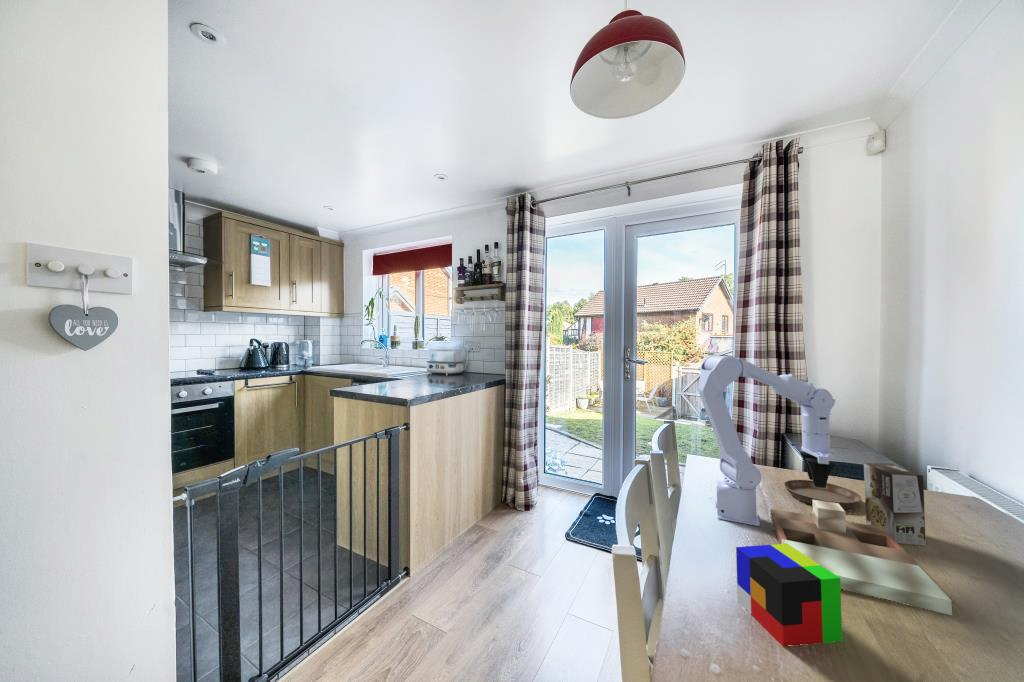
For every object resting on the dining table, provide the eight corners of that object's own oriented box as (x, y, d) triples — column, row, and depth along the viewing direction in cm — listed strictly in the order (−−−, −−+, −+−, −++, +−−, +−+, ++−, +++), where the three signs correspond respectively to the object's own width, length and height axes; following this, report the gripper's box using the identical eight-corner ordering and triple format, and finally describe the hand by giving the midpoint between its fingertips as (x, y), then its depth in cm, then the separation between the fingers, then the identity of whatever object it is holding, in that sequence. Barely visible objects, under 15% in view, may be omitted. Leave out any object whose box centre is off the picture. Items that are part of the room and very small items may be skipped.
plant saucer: (783, 484, 120) (783, 474, 120) (855, 496, 110) (855, 486, 110) (785, 503, 106) (784, 493, 106) (868, 519, 96) (868, 507, 96)
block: (818, 528, 86) (817, 507, 86) (813, 519, 91) (812, 499, 91) (845, 533, 84) (845, 511, 84) (839, 523, 88) (838, 503, 88)
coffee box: (927, 546, 82) (925, 475, 83) (894, 543, 84) (892, 474, 84) (894, 526, 91) (892, 462, 91) (864, 524, 93) (862, 461, 93)
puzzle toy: (737, 602, 66) (736, 547, 66) (788, 597, 67) (786, 543, 67) (783, 647, 56) (781, 582, 56) (842, 641, 57) (840, 577, 57)
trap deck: (791, 577, 72) (791, 565, 72) (770, 518, 97) (770, 508, 97) (951, 615, 62) (951, 600, 62) (882, 537, 86) (882, 527, 86)
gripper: (844, 440, 88) (846, 496, 88) (827, 427, 101) (828, 476, 100) (807, 437, 91) (809, 491, 91) (795, 425, 104) (796, 472, 104)
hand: (817, 483), depth 96 cm, fingers open, 5 cm apart
